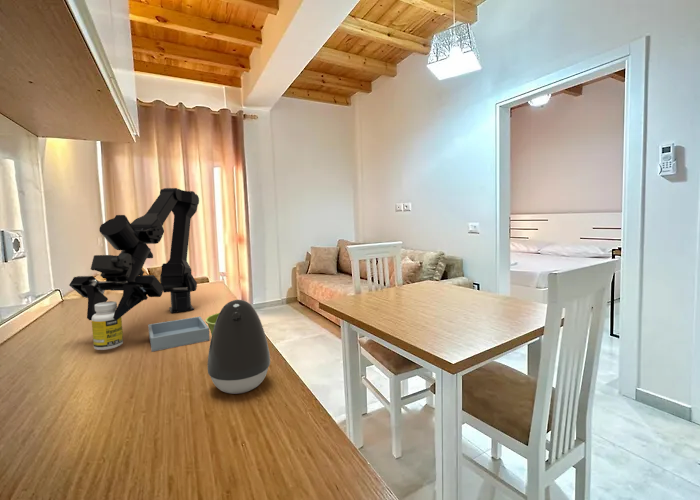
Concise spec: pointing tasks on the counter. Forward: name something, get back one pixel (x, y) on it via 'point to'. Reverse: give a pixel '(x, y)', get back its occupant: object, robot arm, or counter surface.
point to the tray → (177, 333)
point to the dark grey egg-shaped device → (238, 349)
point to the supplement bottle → (106, 326)
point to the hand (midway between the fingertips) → (102, 319)
